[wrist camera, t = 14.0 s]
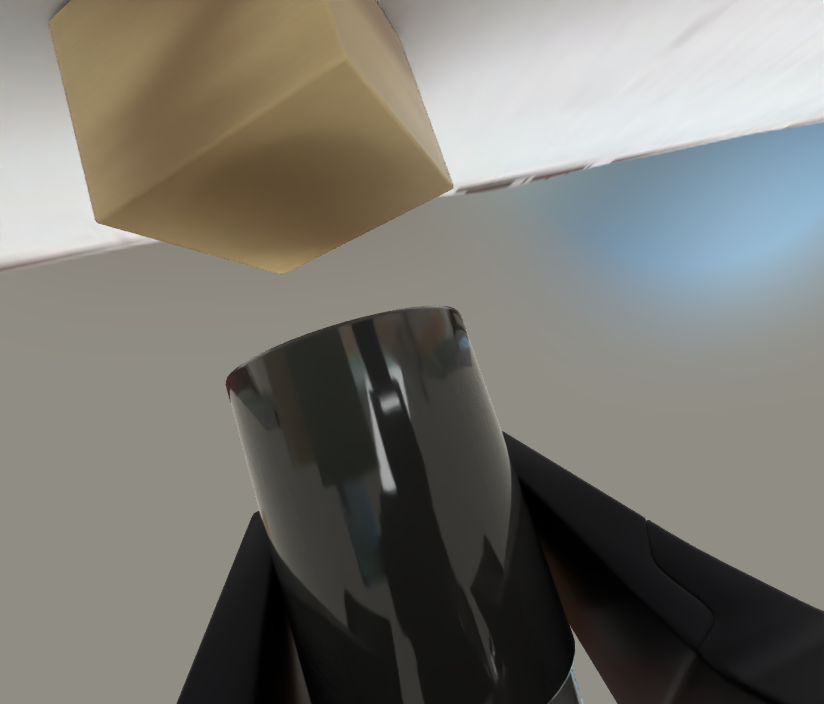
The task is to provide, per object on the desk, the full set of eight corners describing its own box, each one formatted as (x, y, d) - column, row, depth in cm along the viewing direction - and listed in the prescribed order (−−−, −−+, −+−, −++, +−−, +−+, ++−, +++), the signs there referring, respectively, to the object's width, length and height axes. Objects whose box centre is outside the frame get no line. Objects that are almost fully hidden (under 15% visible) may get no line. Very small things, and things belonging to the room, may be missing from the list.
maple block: (263, -185, 7) (346, 55, 6) (401, 40, 11) (455, 189, 11) (45, 20, 8) (93, 223, 8) (243, 143, 13) (282, 276, 12)
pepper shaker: (406, 287, 6) (608, 891, 5) (483, 317, 10) (603, 654, 9) (164, 394, 8) (283, 878, 7) (317, 383, 12) (404, 679, 11)
